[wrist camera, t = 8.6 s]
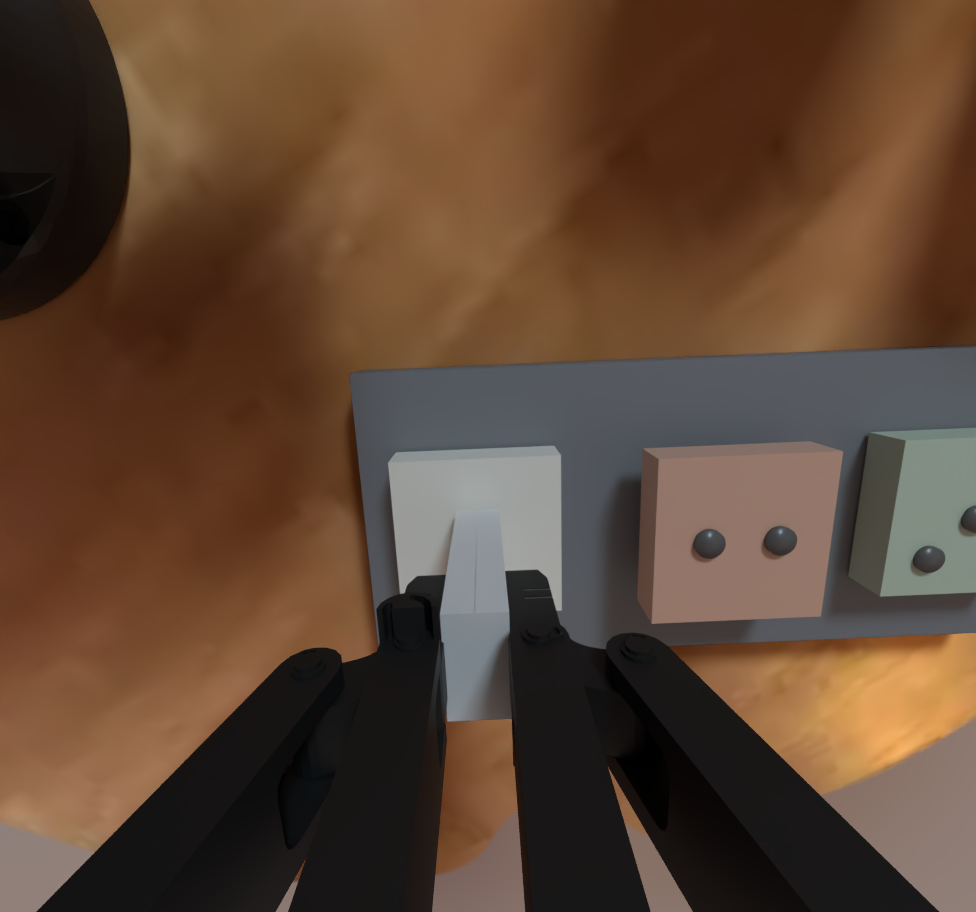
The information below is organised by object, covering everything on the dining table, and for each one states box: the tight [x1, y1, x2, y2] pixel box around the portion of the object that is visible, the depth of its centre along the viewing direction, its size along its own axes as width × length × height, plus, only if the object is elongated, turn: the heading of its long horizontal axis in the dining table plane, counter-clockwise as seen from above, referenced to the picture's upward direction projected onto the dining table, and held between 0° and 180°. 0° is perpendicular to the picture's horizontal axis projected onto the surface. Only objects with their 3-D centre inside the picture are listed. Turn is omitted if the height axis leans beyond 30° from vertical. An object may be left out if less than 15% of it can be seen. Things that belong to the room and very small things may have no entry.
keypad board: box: [349, 345, 976, 649], centre depth 20 cm, size 27×12×2 cm, turn 92°
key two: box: [637, 441, 843, 624], centre depth 18 cm, size 6×6×4 cm
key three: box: [848, 428, 976, 597], centre depth 19 cm, size 6×6×4 cm
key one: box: [388, 446, 562, 611], centre depth 19 cm, size 6×6×4 cm
